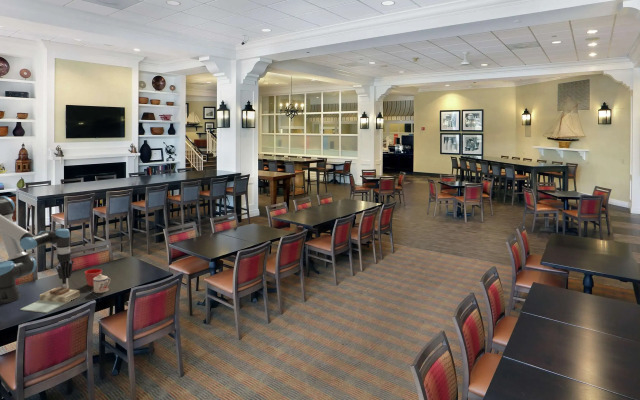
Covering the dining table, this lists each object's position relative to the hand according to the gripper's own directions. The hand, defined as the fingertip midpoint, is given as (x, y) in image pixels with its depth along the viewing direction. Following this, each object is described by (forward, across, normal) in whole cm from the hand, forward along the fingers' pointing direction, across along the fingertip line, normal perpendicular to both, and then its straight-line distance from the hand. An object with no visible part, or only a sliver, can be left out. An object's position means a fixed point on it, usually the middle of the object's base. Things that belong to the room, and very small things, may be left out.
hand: (66, 287), depth 265 cm
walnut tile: (+1, -6, 0) cm, 6 cm away
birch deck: (+5, -6, 0) cm, 8 cm away
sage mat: (+5, -18, 0) cm, 19 cm away
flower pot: (+5, +22, -3) cm, 22 cm away
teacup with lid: (+5, +13, -16) cm, 22 cm away
